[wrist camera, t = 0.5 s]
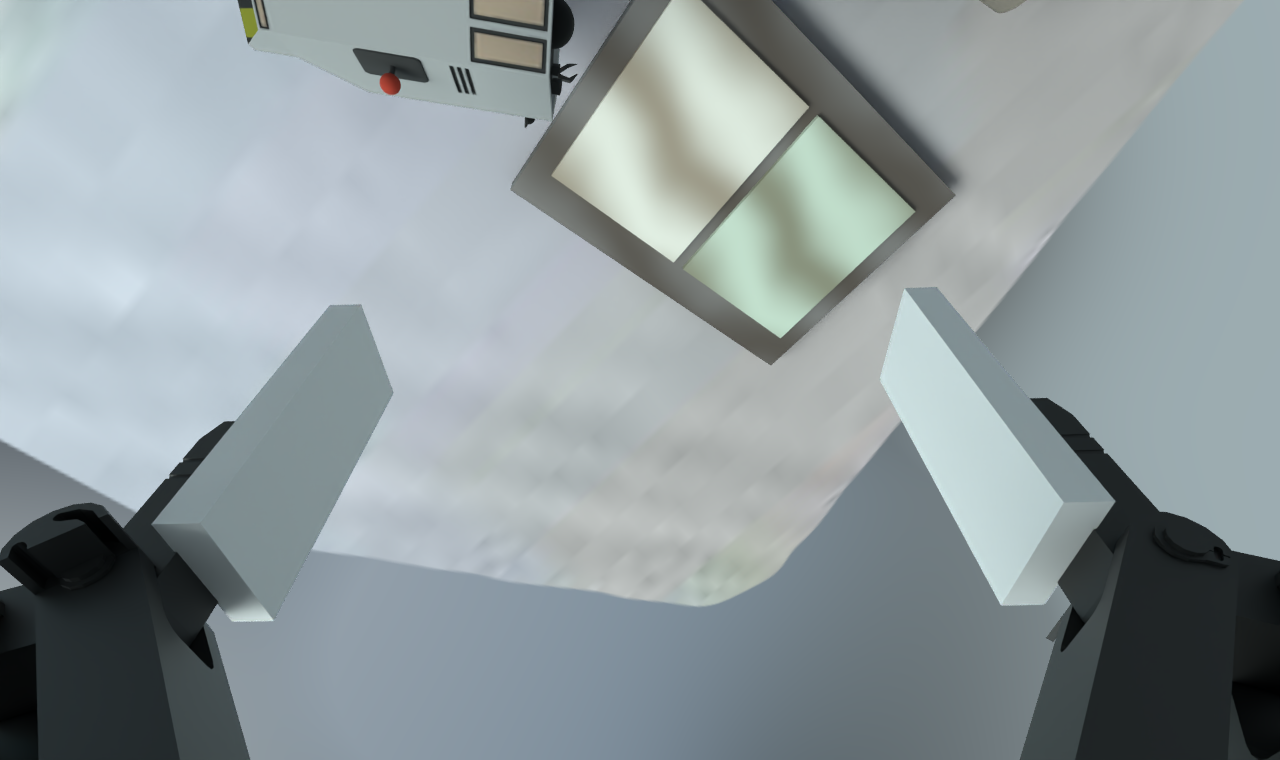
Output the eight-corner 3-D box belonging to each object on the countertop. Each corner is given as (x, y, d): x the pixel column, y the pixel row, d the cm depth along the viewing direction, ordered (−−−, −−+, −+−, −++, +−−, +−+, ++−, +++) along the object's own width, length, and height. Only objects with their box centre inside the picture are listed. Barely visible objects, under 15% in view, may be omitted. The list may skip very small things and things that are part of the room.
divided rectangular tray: (687, -85, 28) (691, -86, 27) (946, 188, 37) (958, 196, 36) (512, 182, 35) (510, 191, 34) (766, 356, 45) (771, 367, 43)
